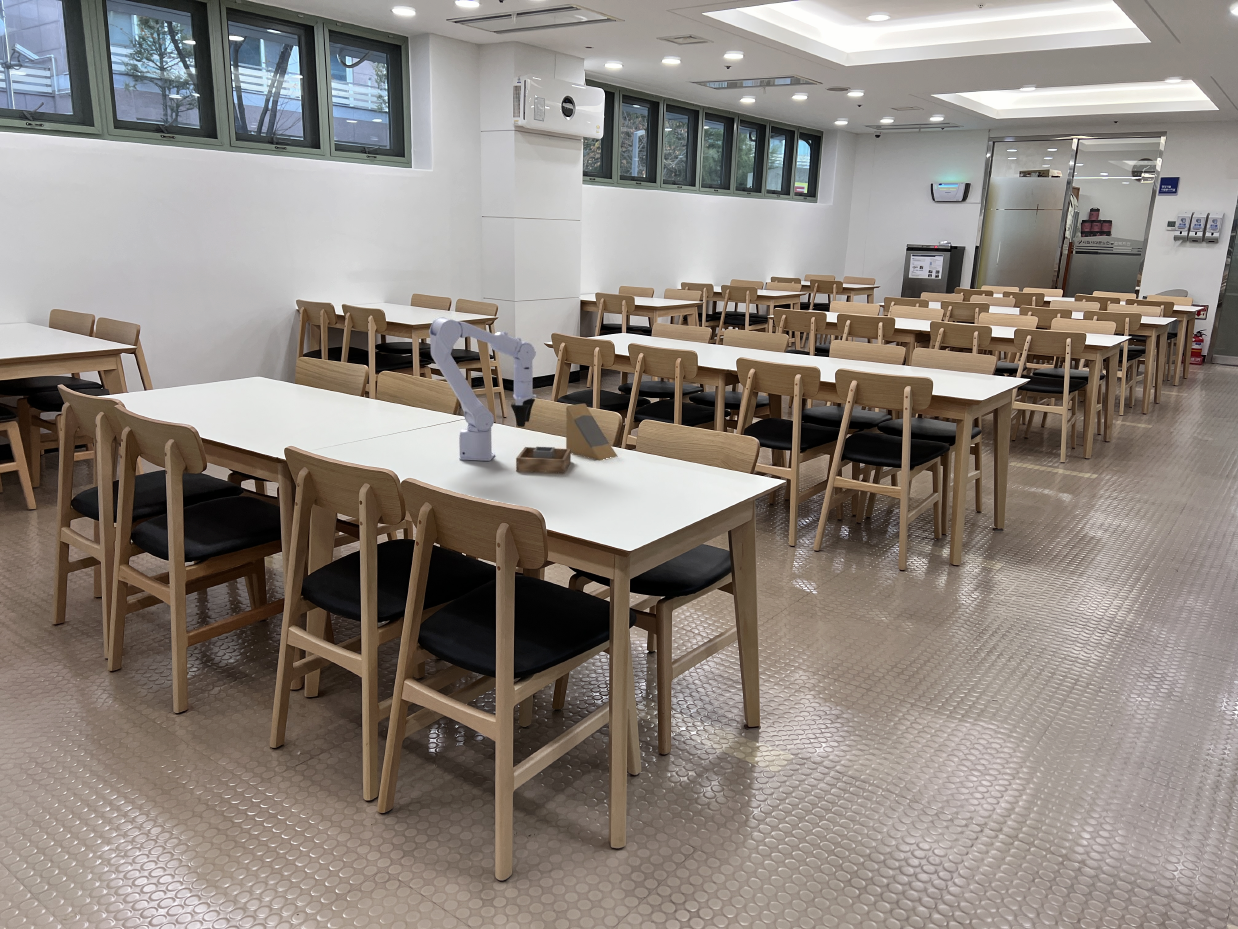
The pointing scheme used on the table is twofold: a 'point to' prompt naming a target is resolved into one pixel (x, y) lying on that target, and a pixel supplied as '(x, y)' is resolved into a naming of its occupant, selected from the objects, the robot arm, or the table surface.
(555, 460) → the large crate
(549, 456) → the small crate
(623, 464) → the table surface
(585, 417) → the sandwich container
